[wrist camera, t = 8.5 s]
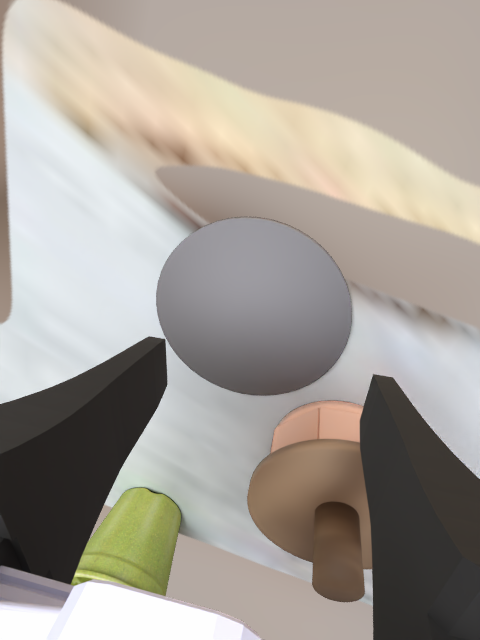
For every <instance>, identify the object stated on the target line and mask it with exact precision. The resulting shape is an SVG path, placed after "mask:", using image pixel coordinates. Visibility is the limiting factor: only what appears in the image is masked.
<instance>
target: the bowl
mask: <svg viewBox="0 0 480 640" xmlns="http://www.w3.org/2000/svg"><path fill="white" fill-rule="evenodd" d="M363 407H364V406H361V405H358V404H354V403H350V402H344V401H319V402H313V403H309V404H306V405H303V406H301V407H298V408H296V409H294V410H293V411H291V412H290V413H288V414H287V415H286V416H285V417H284V418H283V419H282V420H281V421H280V423H279V424H278V426H277V427H276V428H275V430H274V436H273V441H272V447H271V453H273V452H274V451H276V450H278V449H280V448H282V447H285V446H287V445H290V444H293V443H297V442H301V441H307V440H314V439H341V440H349V441H355V442H359V443H360V418H361V414H362V411H363ZM271 453H270V454H271Z"/></svg>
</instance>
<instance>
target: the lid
mask: <svg viewBox="0 0 480 640" xmlns="http://www.w3.org/2000/svg"><path fill="white" fill-rule="evenodd" d="M247 502H248V509H249V512H250V515H251V517H252V519H253V521H254V523H255V524H256V526H257V527H258V528H259V530H260V531H261V532H262V533H263V534H264V535H265V536H266V537H267V538H268V539H269V540H270V541H272V542H273V543H274V544H276V545H277V546H279V547H280V548H282V549H283V550H285V551H287V552H289V553H291V554H292V555H294V556H297V557H299V558H301V559H304V560H307V561H310V562H313V577H312V585H313V588H314V589H315V591H316V592H317V593H318V594H320V595H322V596H323V597H325V598H327V599H330V600H334V601H339V602H353V601H357V600H359V599H361V598H362V597H363V596H364V594H365V588H364V574H363V569H372V545H371V525H370V515H369V508H368V501H367V494H366V487H365V480H364V473H363V466H362V459H361V452H360V443H359V442H355V441H349V440H341V439H314V440H307V441H301V442H297V443H293V444H290V445H287V446H285V447H282V448H280V449H278V450H276V451H274V452H273V453H271V454H269V455H268V456H267V457H266V458H264V459H263V460H262V461H261V462H260V463H259V465H258V466H257V467H256V469H255V471H254V472H253V475H252V477H251V480H250V485H249V490H248V496H247Z"/></svg>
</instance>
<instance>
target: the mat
mask: <svg viewBox="0 0 480 640" xmlns="http://www.w3.org/2000/svg"><path fill="white" fill-rule="evenodd" d="M156 305H157V313H158V318H159V321H160V325H161V328H162V330H163V333H164V335H165V337H166V339H167V341H168V342H169V344H170V346H171V347H172V349H173V350H174V351H175V353H176V354H177V355H178V357H179V358H180V359H181V360H182V361H183V362H184V363H185V364H186V365H187V366H188V367H189V368H190V369H192V370H193V371H194V372H195V373H197V374H198V375H200V376H201V377H203V378H204V379H206V380H208V381H209V382H211V383H213V384H215V385H218V386H220V387H222V388H225V389H228V390H231V391H234V392H239V393H243V394H250V395H277V394H282V393H287V392H291V391H294V390H297V389H300V388H302V387H304V386H307V385H309V384H310V383H312V382H314V381H315V380H317V379H319V378H320V377H321V376H322V375H324V374H325V373H326V372H327V371H328V370H329V369H330V368H331V367H332V366H333V365H334V364H335V362H336V361H337V360H338V358H339V357H340V355H341V354H342V352H343V350H344V348H345V346H346V343H347V340H348V337H349V334H350V328H351V322H352V308H351V301H350V294H349V291H348V287H347V284H346V281H345V279H344V277H343V275H342V273H341V271H340V269H339V267H338V266H337V264H336V263H335V261H334V260H333V258H332V257H331V256H330V255H329V254H328V253H327V251H326V250H325V249H324V248H323V247H322V246H321V245H319V244H318V243H317V242H316V241H315V240H313V239H312V238H311V237H309V236H308V235H306V234H305V233H303V232H302V231H300V230H298V229H296V228H294V227H292V226H290V225H287V224H284V223H281V222H278V221H275V220H271V219H265V218H260V217H235V218H228V219H224V220H219V221H216V222H213V223H211V224H208V225H206V226H204V227H202V228H200V229H198V230H197V231H195V232H193V233H192V234H191V235H190V236H188V237H187V238H186V239H184V240H183V241H182V242H181V243H180V244H179V245H178V246H177V247H176V248H175V249H174V250H173V252H172V253H171V255H170V256H169V258H168V259H167V261H166V263H165V265H164V267H163V269H162V271H161V274H160V277H159V280H158V286H157V292H156Z"/></svg>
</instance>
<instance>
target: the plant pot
mask: <svg viewBox="0 0 480 640" xmlns="http://www.w3.org/2000/svg"><path fill="white" fill-rule="evenodd" d="M180 522H181V513H180V510H179V508H178V507H177V505H176V504H175V503H174V502H173V501H172V500H171V499H170V498H168V497H167V496H165V495H163V494H155V493H152V492H150V491H149V490H148V489H146V488H133V489H129V490H127V491H126V492H124V493H123V494H122V495H121V497H120V498H119V500H118V501H117V502H116V504H115V505H114V507H113V508H112V510H111V511H110V512H109V514H108V515H107V517H106V518H105V519H104V521H103V522H102V523H101V525H100V526H99V528H98V529H97V530H96V532H95V533H94V535H93V536H92V537H91V539H90V540H89V541H88V543H87V545H86V547H85V550H84V552H83V555H82V557H81V560H80V562H79V565H78V567H77V570H76V572H75V575H74V578H73V580H72V583H71V585H73V586H76V585H78V584H81V583H84V582H87V581H89V580H92V579H96V580H104V581H111V582H116V583H119V584H123V585H127V586H130V587H134V588H138V589H141V590H145V591H148V592H152V593H156V594H159V595H163V596H165V595H166V590H167V585H168V580H169V575H170V570H171V565H172V560H173V555H174V551H175V545H176V541H177V537H178V532H179V527H180Z"/></svg>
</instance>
